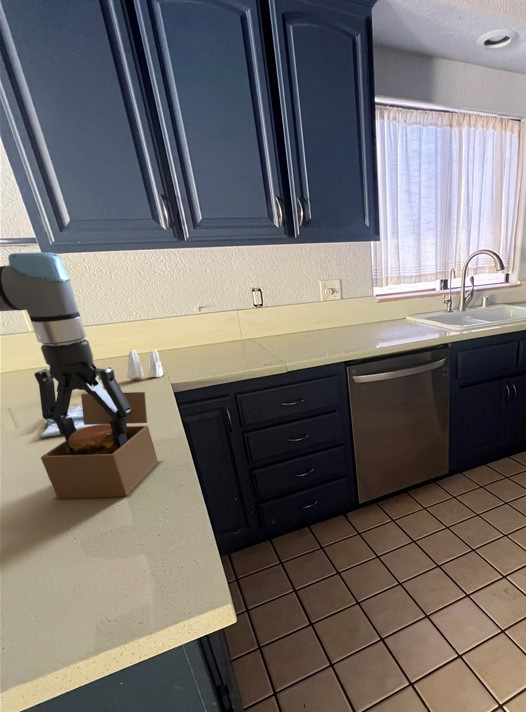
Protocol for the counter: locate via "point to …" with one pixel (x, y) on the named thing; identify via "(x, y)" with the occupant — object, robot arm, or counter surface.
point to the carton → (102, 467)
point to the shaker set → (135, 366)
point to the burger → (93, 440)
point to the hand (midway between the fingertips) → (99, 447)
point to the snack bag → (72, 412)
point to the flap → (99, 416)
